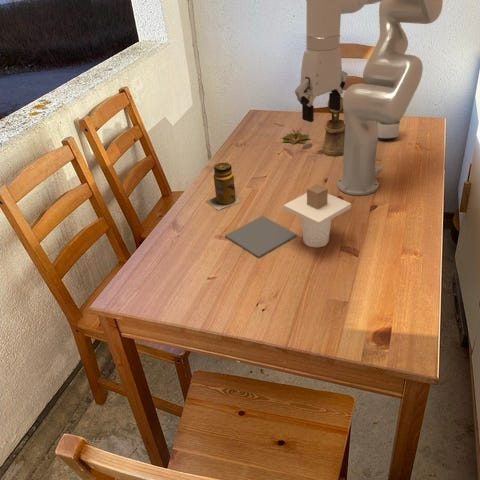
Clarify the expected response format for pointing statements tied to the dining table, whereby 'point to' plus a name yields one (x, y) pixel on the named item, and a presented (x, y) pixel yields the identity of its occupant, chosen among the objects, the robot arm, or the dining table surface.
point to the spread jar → (387, 131)
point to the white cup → (315, 233)
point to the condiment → (223, 187)
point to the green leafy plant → (295, 135)
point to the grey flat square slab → (260, 236)
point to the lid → (317, 205)
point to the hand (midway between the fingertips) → (321, 115)
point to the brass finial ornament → (334, 133)
